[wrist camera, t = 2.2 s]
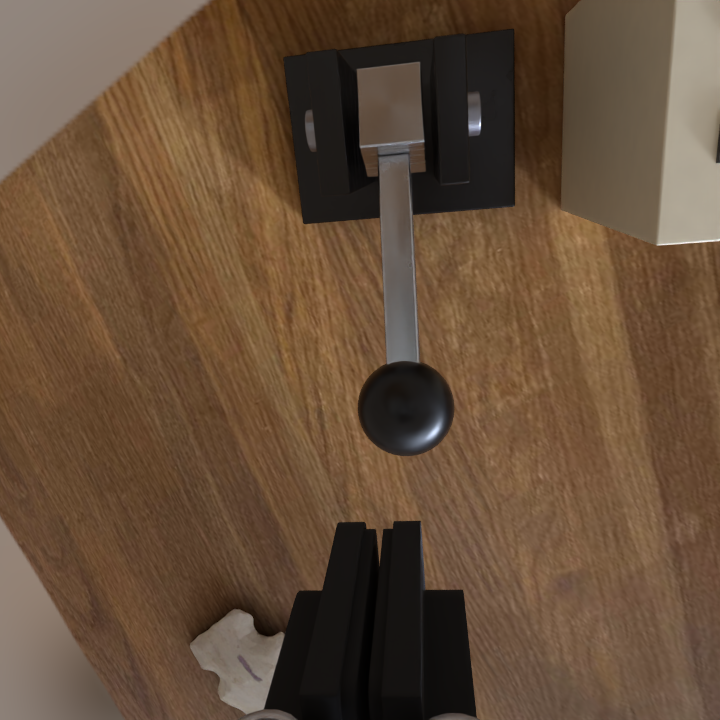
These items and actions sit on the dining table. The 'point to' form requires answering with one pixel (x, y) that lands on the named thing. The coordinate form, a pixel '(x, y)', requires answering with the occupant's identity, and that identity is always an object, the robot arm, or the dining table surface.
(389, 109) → the lever
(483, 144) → the lever bracket
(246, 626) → the decorative stone
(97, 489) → the dining table surface
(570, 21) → the toaster
